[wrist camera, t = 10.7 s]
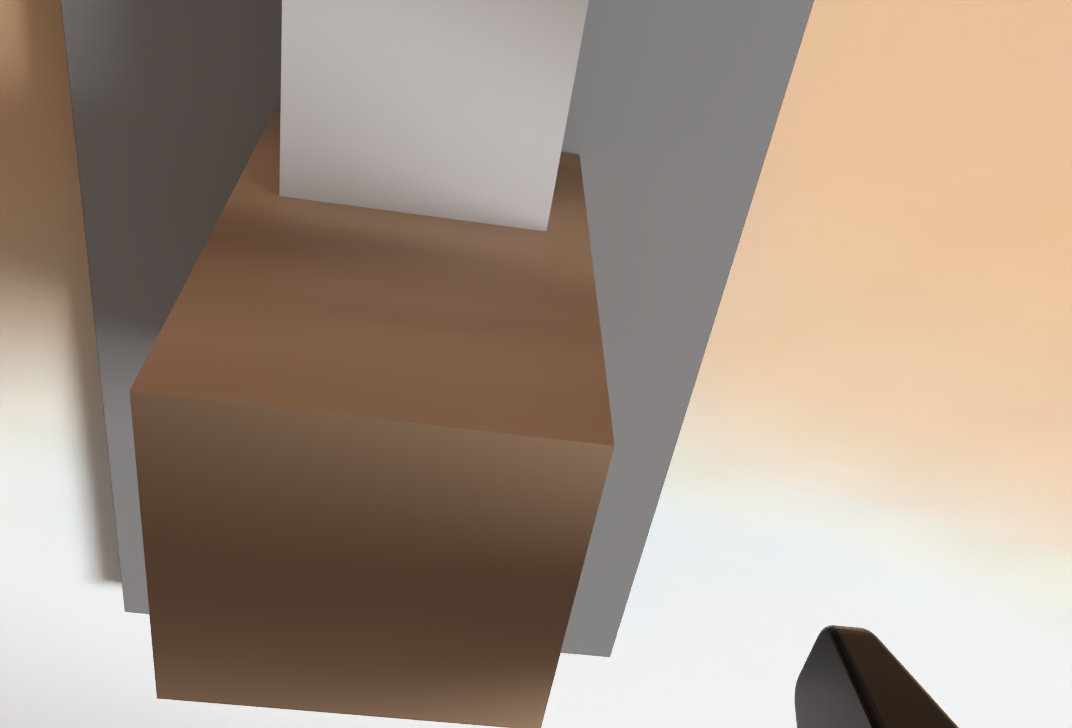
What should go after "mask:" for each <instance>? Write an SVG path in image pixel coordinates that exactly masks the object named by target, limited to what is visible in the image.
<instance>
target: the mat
mask: <svg viewBox="0 0 1072 728" xmlns="http://www.w3.org/2000/svg"><path fill="white" fill-rule="evenodd" d="M813 2H814V0H589V2H588V8H587V13H586V18H585V24H584V29H583V35H582V40H581V46H580V51H579V57H578V62H577V68H576V73H575V79H574V84H573V89H572V95H571V100H570V106H569V111H568V117H567V122H566V128H565V133H564V139H563V144H562V149H561V152H564V153H571V154H578V155H580V162H581V170H582V178H583V187H584V195H585V203H586V212H587V220H588V228H589V237H590V245H591V253H592V262H593V270H594V278H595V287H596V295H597V303H598V312H599V320H600V328H601V337H602V345H603V353H604V362H605V370H606V378H607V387H608V395H609V403H610V411H611V420H612V428H613V436H614V445H615V446H614V450H613V454H612V458H611V462H610V465H609V469H608V473H607V477H606V481H605V484H604V488H603V492H602V496H601V500H600V504H599V507H598V511H597V515H596V519H595V523H594V526H593V530H592V534H591V538H590V542H589V546H588V549H587V553H586V557H585V561H584V565H583V568H582V572H581V576H580V580H579V584H578V588H577V591H576V595H575V599H574V603H573V607H572V610H571V614H570V618H569V622H568V626H567V629H566V633H565V637H564V641H563V645H562V649H561V653H572V654H582V655H593V656H604V657H610V654H611V651H612V648H613V645H614V642H615V638H616V635H617V632H618V629H619V626H620V622H621V619H622V616H623V613H624V609H625V606H626V603H627V600H628V597H629V593H630V590H631V587H632V584H633V581H634V577H635V574H636V571H637V568H638V564H639V561H640V558H641V555H642V552H643V548H644V545H645V542H646V539H647V536H648V532H649V529H650V526H651V523H652V519H653V516H654V513H655V510H656V507H657V503H658V500H659V497H660V494H661V491H662V487H663V484H664V481H665V478H666V475H667V471H668V468H669V465H670V462H671V458H672V455H673V452H674V449H675V446H676V442H677V439H678V436H679V433H680V430H681V426H682V423H683V420H684V417H685V413H686V410H687V407H688V404H689V401H690V397H691V394H692V391H693V388H694V385H695V381H696V378H697V375H698V372H699V368H700V365H701V362H702V359H703V356H704V352H705V349H706V346H707V343H708V340H709V336H710V333H711V330H712V327H713V324H714V320H715V317H716V314H717V311H718V307H719V304H720V301H721V298H722V295H723V291H724V288H725V285H726V282H727V279H728V275H729V272H730V269H731V266H732V262H733V259H734V256H735V253H736V250H737V246H738V243H739V240H740V237H741V234H742V230H743V227H744V224H745V221H746V218H747V214H748V211H749V208H750V205H751V201H752V198H753V195H754V192H755V189H756V185H757V182H758V179H759V176H760V173H761V169H762V166H763V163H764V160H765V156H766V153H767V150H768V147H769V144H770V140H771V137H772V134H773V131H774V128H775V124H776V121H777V118H778V115H779V111H780V108H781V105H782V102H783V99H784V95H785V92H786V89H787V86H788V83H789V79H790V76H791V73H792V70H793V67H794V63H795V60H796V57H797V54H798V50H799V47H800V44H801V41H802V38H803V34H804V31H805V28H806V25H807V22H808V18H809V15H810V12H811V9H812V5H813ZM61 7H62V16H63V26H64V35H65V45H66V54H67V64H68V73H69V83H70V92H71V102H72V111H73V121H74V131H75V140H76V150H77V159H78V169H79V178H80V188H81V197H82V207H83V216H84V226H85V235H86V245H87V254H88V264H89V274H90V283H91V293H92V302H93V312H94V321H95V331H96V340H97V350H98V359H99V369H100V378H101V388H102V397H103V407H104V417H105V426H106V436H107V445H108V455H109V464H110V474H111V483H112V493H113V502H114V512H115V521H116V531H117V540H118V550H119V560H120V569H121V579H122V588H123V598H124V607H125V612H133V613H144V614H149V603H148V591H147V580H146V569H145V558H144V547H143V536H142V525H141V514H140V503H139V491H138V480H137V469H136V458H135V447H134V436H133V425H132V414H131V403H130V389H131V387H132V385H133V383H134V381H135V379H136V378H137V376H138V374H139V372H140V370H141V368H142V366H143V364H144V362H145V360H146V358H147V356H148V354H149V352H150V350H151V348H152V347H153V345H154V343H155V341H156V339H157V337H158V335H159V333H160V331H161V329H162V327H163V325H164V323H165V321H166V319H167V318H168V316H169V314H170V312H171V310H172V308H173V306H174V304H175V302H176V300H177V298H178V296H179V294H180V292H181V290H182V289H183V287H184V285H185V283H186V281H187V279H188V277H189V275H190V273H191V271H192V269H193V267H194V265H195V263H196V261H197V259H198V258H199V256H200V254H201V252H202V250H203V248H204V246H205V244H206V242H207V240H208V238H209V236H210V234H211V232H212V230H213V229H214V227H215V225H216V223H217V221H218V219H219V217H220V215H221V213H222V211H223V209H224V207H225V205H226V203H227V201H228V200H229V198H230V196H231V194H232V192H233V190H234V188H235V186H236V184H237V182H238V180H239V178H240V176H241V174H242V172H243V170H244V169H245V167H246V165H247V163H248V161H249V159H250V157H251V155H252V153H253V151H254V149H255V147H256V145H257V143H258V141H259V140H260V138H261V136H262V134H263V132H264V130H265V128H266V126H267V124H268V122H269V120H270V118H271V116H272V114H273V112H274V111H275V112H281V43H282V0H61Z"/></svg>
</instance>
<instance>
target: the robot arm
mask: <svg viewBox="0 0 1072 728" xmlns="http://www.w3.org/2000/svg"><path fill="white" fill-rule="evenodd" d="M795 711H796V721H797V728H959V727H958V726H957V725H956V724H955V723H954V722H953V721H952V720H951V719H950V717H949V716H948V715H947V714H946V713H945V712H944V711H943V710H942V709H941V708H940V706H939V705H938V704H937V703H936V702H935V701H934V700H933V699H932V698H931V696H930V695H929V694H928V693H927V692H926V691H925V690H924V689H923V688H922V686H921V685H920V684H919V683H918V682H917V681H916V680H915V679H914V678H913V676H912V675H911V674H910V673H909V672H908V671H907V670H906V669H905V668H904V666H903V665H902V664H901V663H900V662H899V661H898V660H897V659H896V658H895V656H894V655H893V654H892V653H891V652H890V651H889V650H888V649H887V648H886V646H885V645H884V644H883V643H882V642H881V641H880V640H879V639H878V638H877V637H876V636H875V635H874V634H873V633H872V632H870V631H869V630H866V629H863V628H855V627H845V626H835V625H831V626H827V627H825V628H824V629H823V630H822V631H821V632H820V634H819V636H818V638H817V640H816V642H815V644H814V646H813V648H812V650H811V652H810V654H809V656H808V658H807V660H806V662H805V664H804V667H803V669H802V671H801V673H800V675H799V677H798V680H797V683H796V688H795Z"/></svg>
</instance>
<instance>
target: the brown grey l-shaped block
mask: <svg viewBox="0 0 1072 728" xmlns="http://www.w3.org/2000/svg"><path fill="white" fill-rule="evenodd" d="M588 2H589V0H282V43H281V112H275V111H274V112H273V114H272V116H271V118H270V120H269V122H268V124H267V126H266V128H265V130H264V132H263V134H262V136H261V138H260V140H259V141H258V143H257V145H256V147H255V149H254V151H253V153H252V155H251V157H250V159H249V161H248V163H247V165H246V167H245V169H244V170H243V172H242V174H241V176H240V178H239V180H238V182H237V184H236V186H235V188H234V190H233V192H232V194H231V196H230V198H229V200H228V201H227V203H226V205H225V207H224V209H223V211H222V213H221V215H220V217H219V219H218V221H217V223H216V225H215V227H214V229H213V230H212V232H211V234H210V236H209V238H208V240H207V242H206V244H205V246H204V248H203V250H202V252H201V254H200V256H199V258H198V259H197V261H196V263H195V265H194V267H193V269H192V271H191V273H190V275H189V277H188V279H187V281H186V283H185V285H184V287H183V289H182V290H181V292H180V294H179V296H178V298H177V300H176V302H175V304H174V306H173V308H172V310H171V312H170V314H169V316H168V318H167V319H166V321H165V323H164V325H163V327H162V329H161V331H160V333H159V335H158V337H157V339H156V341H155V343H154V345H153V347H152V348H151V350H150V352H149V354H148V356H147V358H146V360H145V362H144V364H143V366H142V368H141V370H140V372H139V374H138V376H137V378H136V379H135V381H134V383H133V385H132V387H131V389H130V403H131V414H132V425H133V436H134V447H135V458H136V469H137V480H138V491H139V503H140V514H141V525H142V536H143V547H144V558H145V569H146V580H147V591H148V603H149V614H150V625H151V636H152V647H153V658H154V669H155V680H156V692H157V698H159V699H171V700H183V701H195V702H207V703H219V704H232V705H244V706H256V707H268V708H280V709H292V710H304V711H316V712H328V713H340V714H352V715H364V716H376V717H388V718H400V719H412V720H424V721H436V722H448V723H460V724H472V725H484V726H496V727H508V728H541V725H542V721H543V717H544V713H545V710H546V706H547V702H548V698H549V694H550V691H551V687H552V683H553V679H554V675H555V671H556V668H557V664H558V660H559V656H560V652H561V649H562V645H563V641H564V637H565V633H566V629H567V626H568V622H569V618H570V614H571V610H572V607H573V603H574V599H575V595H576V591H577V588H578V584H579V580H580V576H581V572H582V568H583V565H584V561H585V557H586V553H587V549H588V546H589V542H590V538H591V534H592V530H593V526H594V523H595V519H596V515H597V511H598V507H599V504H600V500H601V496H602V492H603V488H604V484H605V481H606V477H607V473H608V469H609V465H610V462H611V458H612V454H613V450H614V446H615V445H614V436H613V428H612V420H611V411H610V403H609V395H608V387H607V378H606V370H605V362H604V353H603V345H602V337H601V328H600V320H599V312H598V303H597V295H596V287H595V278H594V270H593V262H592V253H591V245H590V237H589V228H588V220H587V212H586V203H585V195H584V187H583V178H582V170H581V162H580V155H578V154H571V153H564V152H561V149H562V144H563V139H564V133H565V128H566V122H567V117H568V111H569V106H570V100H571V95H572V89H573V84H574V79H575V73H576V68H577V62H578V57H579V51H580V46H581V40H582V35H583V29H584V24H585V18H586V13H587V8H588Z"/></svg>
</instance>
